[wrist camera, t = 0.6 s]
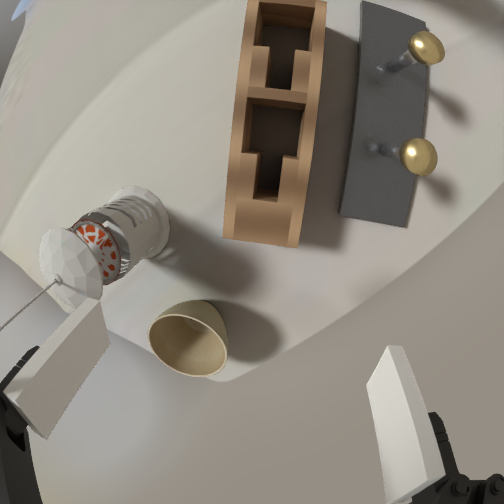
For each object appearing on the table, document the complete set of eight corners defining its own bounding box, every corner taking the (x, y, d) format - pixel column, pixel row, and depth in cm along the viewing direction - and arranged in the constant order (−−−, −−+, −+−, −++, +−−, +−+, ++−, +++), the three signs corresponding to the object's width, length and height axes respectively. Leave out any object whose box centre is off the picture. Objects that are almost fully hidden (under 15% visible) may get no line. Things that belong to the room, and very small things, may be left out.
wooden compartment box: (255, 17, 22) (248, -7, 17) (319, 24, 22) (326, 1, 16) (233, 219, 32) (222, 238, 26) (295, 228, 31) (297, 248, 26)
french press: (170, 264, 35) (53, 422, 12) (98, 251, 36) (-28, 361, 13) (170, 188, 31) (-12, 302, 8) (93, 183, 32) (-70, 261, 9)
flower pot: (232, 282, 35) (220, 316, 28) (240, 343, 39) (232, 379, 32) (160, 283, 36) (137, 312, 30) (176, 340, 40) (160, 373, 34)
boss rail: (360, 3, 20) (383, -35, 11) (421, 24, 19) (459, -2, 10) (338, 213, 30) (358, 243, 21) (400, 224, 29) (437, 257, 21)
